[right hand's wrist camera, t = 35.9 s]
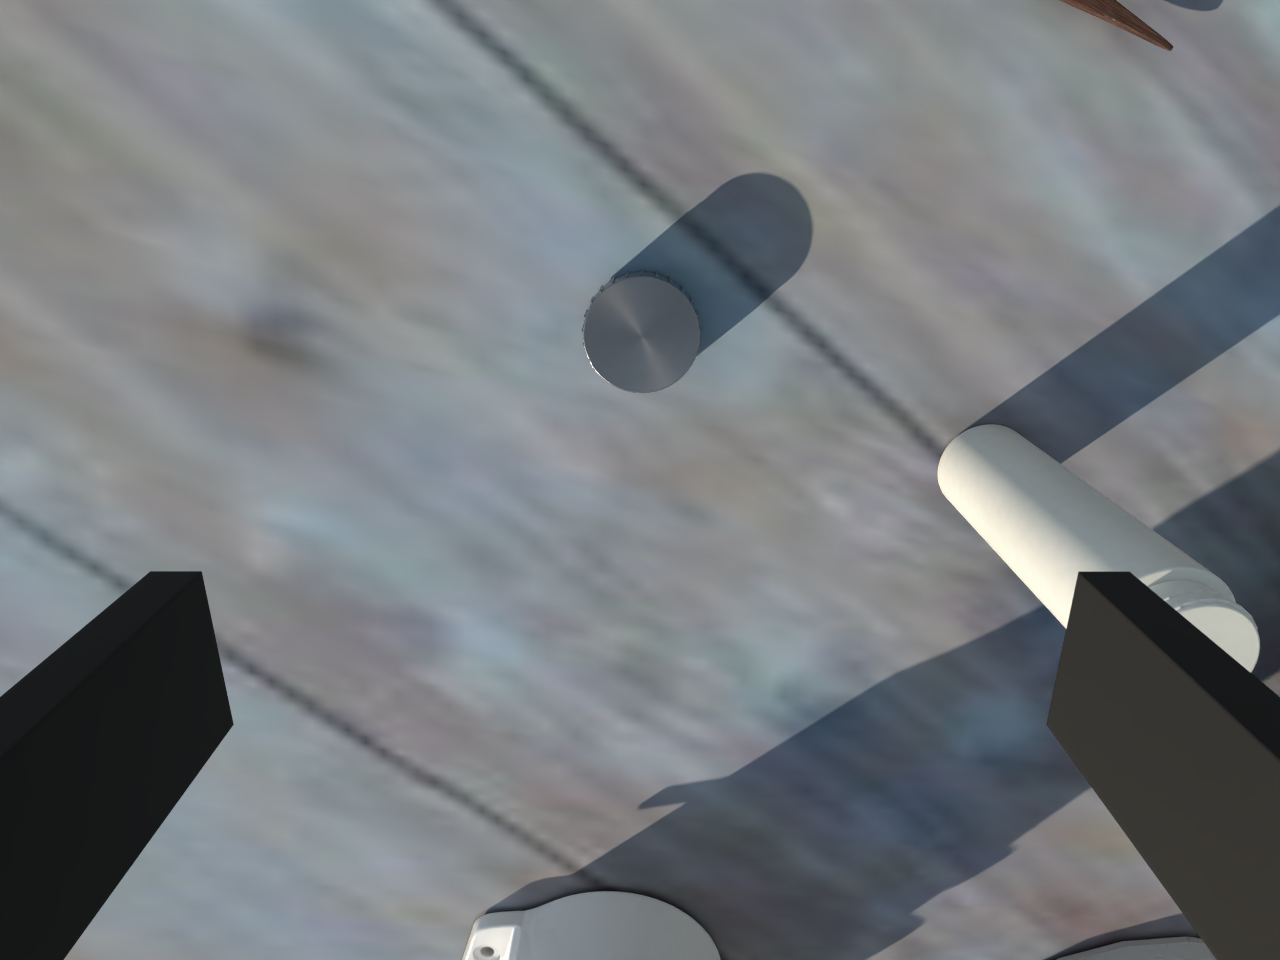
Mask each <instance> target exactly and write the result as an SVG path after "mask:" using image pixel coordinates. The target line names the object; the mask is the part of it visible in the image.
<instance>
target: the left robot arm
mask: <svg viewBox="0 0 1280 960" xmlns="http://www.w3.org/2000/svg"><path fill="white" fill-rule="evenodd" d="M1278 696H1279V697H1280V694H1279V695H1278ZM462 960H721V959H720V955H719V952H718V950H717V948H716V946H715V944H714V942H713V940H712V939H711V937H710V936H709V934H708V933H707V932H706V931H705V930H704V928H703V927H702V926H701V925H700V924H699V923H697V922H696V921H695V920H694V919H693V918H691V917H690V916H689V915H687V914H686V913H684V912H683V911H681V910H679V909H678V908H676V907H674V906H672V905H670V904H667V903H665V902H663V901H660V900H657V899H654V898H651V897H648V896H644V895H639V894H634V893H628V892H617V891H597V892H587V893H580V894H575V895H570V896H567V897H563V898H560V899H557V900H554V901H552V902H549V903H547V904H544V905H542V906H539V907H536V908H533V909H530V910H526V911H506V912H495V913H489V914H485V915H483V916H481V917H479V918H478V919H477V920H476V922H475V924H474V926H473V929H472V932H471V935H470V938H469V941H468V944H467V947H466V950H465V953H464V956H463V959H462Z"/></svg>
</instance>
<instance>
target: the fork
mask: <svg viewBox="0 0 1280 960" xmlns="http://www.w3.org/2000/svg"><path fill="white" fill-rule="evenodd" d="M1060 1H1063V2H1065V3H1067V4H1069V5H1071V6H1073V7H1076V8H1078V9H1080V10H1083V11H1085V12H1087V13H1089V14H1092V15H1094V16H1096V17H1098V18H1101V19H1103V20H1105V21H1107V22H1109V23H1112V24H1114V25H1116V26H1118V27H1120V28H1122V29H1124V30H1126V31H1128V32H1130V33H1132V34H1134V35H1136V36H1138V37H1140V38H1142V39H1144V40H1146V41H1148V42H1150V43H1152V44H1155V45H1157V46H1159V47H1161V48H1163V49H1166V50H1169V51H1171V50H1172V48H1173V46H1172V45H1171V44H1170V43H1169V42H1168V41H1167V40H1166V39H1164V38H1163V37H1162V36H1161V35H1160V34H1158V33H1157V32H1156V31H1154V30H1153V29H1152V28H1151V27H1149V26H1148V25H1147V24H1145V23H1144V22H1143V21H1142V20H1140V19H1139V18H1138V17H1136V16H1135V15H1134V14H1132V13H1131V12H1130V11H1129V10H1127V9H1126V8H1125V7H1124V6H1122V5H1121V4H1120V3H1118V2H1117V1H1116V0H1060Z"/></svg>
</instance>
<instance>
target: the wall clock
mask: <svg viewBox="0 0 1280 960" xmlns="http://www.w3.org/2000/svg"><path fill="white" fill-rule="evenodd" d="M1057 960H1216V958H1215V957H1214V955H1213V954H1212V953H1211V951H1210V950H1209V949H1208V947H1207V946H1206V944H1205V943H1204V942H1203V940H1202V939H1201V938H1195V937H1187V936H1185V937H1172V938H1159V939H1146V940H1134V941H1122V942H1118V943H1114V944H1111V945H1107V946H1103V947H1099V948H1095V949H1092V950H1088V951H1084V952H1080V953H1077V954H1073V955H1069V956H1065V957H1061V958H1059V959H1057Z"/></svg>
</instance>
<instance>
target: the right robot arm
mask: <svg viewBox="0 0 1280 960" xmlns="http://www.w3.org/2000/svg"><path fill="white" fill-rule="evenodd" d="M232 726H233V720H232V715H231V710H230V706H229V701H228V696H227V691H226V686H225V682H224V677H223V672H222V667H221V662H220V658H219V653H218V648H217V643H216V638H215V633H214V629H213V624H212V619H211V614H210V609H209V605H208V600H207V595H206V590H205V585H204V581H203V576H202V572H149V573H148V574H147V575H146V576H144V577H143V578H142V579H141V580H140V581H139V582H137V583H136V584H135V585H134V586H133V587H131V588H130V589H129V590H128V591H127V592H125V593H124V594H123V595H122V596H121V597H119V598H118V599H117V600H116V601H115V602H113V603H112V604H111V605H110V606H109V607H107V608H106V609H105V610H104V611H103V612H101V613H100V614H99V615H98V616H97V617H95V618H94V619H93V620H92V621H91V622H89V623H88V624H87V625H86V626H85V627H84V628H82V629H81V630H80V631H79V632H78V633H76V634H75V635H74V636H73V637H72V638H70V639H69V640H68V641H67V642H66V643H64V644H63V645H62V646H61V647H60V648H58V649H57V650H56V651H55V652H54V653H52V654H51V655H50V656H49V657H48V658H46V659H45V660H44V661H43V662H42V663H40V664H39V665H38V666H37V667H36V668H34V669H33V670H32V671H31V672H30V673H29V674H27V675H26V676H25V677H24V678H23V679H21V680H20V681H19V682H18V683H17V684H15V685H14V686H13V687H12V688H11V689H9V690H8V691H7V692H6V693H5V694H3V695H2V696H1V697H0V960H64V958H65V957H66V955H67V954H68V953H69V951H70V950H71V949H72V947H73V946H74V944H75V943H76V942H77V940H78V939H79V937H80V936H81V935H82V933H83V932H84V931H85V929H86V928H87V926H88V925H89V924H90V922H91V921H92V920H93V918H94V917H95V915H96V914H97V913H98V911H99V910H100V908H101V907H102V906H103V904H104V903H105V902H106V900H107V899H108V897H109V896H110V895H111V893H112V892H113V890H114V889H115V888H116V886H117V885H118V884H119V882H120V881H121V879H122V878H123V877H124V875H125V874H126V872H127V871H128V870H129V868H130V867H131V866H132V864H133V863H134V861H135V860H136V859H137V857H138V856H139V854H140V853H141V852H142V850H143V849H144V848H145V846H146V845H147V843H148V842H149V841H150V839H151V838H152V836H153V835H154V834H155V832H156V831H157V830H158V828H159V827H160V825H161V824H162V823H163V821H164V820H165V819H166V817H167V816H168V814H169V813H170V812H171V810H172V809H173V807H174V806H175V805H176V803H177V802H178V801H179V799H180V798H181V796H182V795H183V794H184V792H185V791H186V789H187V788H188V787H189V785H190V784H191V783H192V781H193V780H194V778H195V777H196V776H197V774H198V773H199V771H200V770H201V769H202V767H203V766H204V765H205V763H206V762H207V760H208V759H209V758H210V756H211V755H212V753H213V752H214V751H215V749H216V748H217V747H218V745H219V744H220V742H221V741H222V740H223V738H224V737H225V736H226V734H227V733H228V731H229V730H230V729H231V727H232ZM1047 726H1048V727H1049V729H1050V730H1051V731H1052V733H1053V734H1054V736H1055V737H1056V738H1057V740H1058V741H1059V742H1060V744H1061V745H1062V747H1063V748H1064V749H1065V751H1066V752H1067V753H1068V755H1069V756H1070V758H1071V759H1072V760H1073V762H1074V763H1075V765H1076V766H1077V767H1078V769H1079V770H1080V771H1081V773H1082V774H1083V776H1084V777H1085V778H1086V780H1087V781H1088V783H1089V784H1090V785H1091V787H1092V788H1093V789H1094V791H1095V792H1096V794H1097V795H1098V796H1099V798H1100V799H1101V801H1102V802H1103V803H1104V805H1105V806H1106V807H1107V809H1108V810H1109V812H1110V813H1111V814H1112V816H1113V817H1114V819H1115V820H1116V821H1117V823H1118V824H1119V825H1120V827H1121V828H1122V830H1123V831H1124V832H1125V834H1126V835H1127V837H1128V838H1129V839H1130V841H1131V842H1132V843H1133V845H1134V846H1135V848H1136V849H1137V850H1138V852H1139V853H1140V854H1141V856H1142V857H1143V859H1144V860H1145V861H1146V863H1147V864H1148V866H1149V867H1150V868H1151V870H1152V871H1153V872H1154V874H1155V875H1156V877H1157V878H1158V879H1159V881H1160V882H1161V884H1162V885H1163V886H1164V888H1165V889H1166V890H1167V892H1168V893H1169V895H1170V896H1171V897H1172V899H1173V900H1174V902H1175V903H1176V904H1177V906H1178V907H1179V908H1180V910H1181V911H1182V913H1183V914H1184V915H1185V917H1186V918H1187V920H1188V921H1189V922H1190V924H1191V925H1192V926H1193V928H1194V929H1195V931H1196V932H1197V933H1198V935H1199V936H1200V937H1201V939H1202V940H1203V942H1204V943H1205V944H1206V946H1207V947H1208V949H1209V950H1210V951H1211V953H1212V954H1213V955H1214V957H1215V958H1216V960H1280V697H1279V696H1278V695H1277V694H1275V693H1274V692H1273V691H1272V690H1271V689H1269V688H1268V687H1267V686H1266V685H1265V684H1263V683H1262V682H1261V681H1260V680H1259V679H1257V678H1256V677H1255V676H1254V675H1253V674H1251V673H1250V672H1249V671H1248V670H1247V669H1246V668H1244V667H1243V666H1242V665H1241V664H1240V663H1238V662H1237V661H1236V660H1235V659H1234V658H1232V657H1231V656H1230V655H1229V654H1228V653H1226V652H1225V651H1224V650H1223V649H1222V648H1220V647H1219V646H1218V645H1217V644H1216V643H1214V642H1213V641H1212V640H1211V639H1210V638H1208V637H1207V636H1206V635H1205V634H1204V633H1202V632H1201V631H1200V630H1199V629H1198V628H1196V627H1195V626H1194V625H1193V624H1192V623H1191V622H1189V621H1188V620H1187V619H1186V618H1185V617H1183V616H1182V615H1181V614H1180V613H1179V612H1177V611H1176V610H1175V609H1174V608H1173V607H1171V606H1170V605H1169V604H1168V603H1167V602H1165V601H1164V600H1163V599H1162V598H1161V597H1159V596H1158V595H1157V594H1156V593H1155V592H1153V591H1152V590H1151V589H1150V588H1149V587H1147V586H1146V585H1145V584H1144V583H1143V582H1141V581H1140V580H1139V579H1138V578H1137V577H1136V576H1134V575H1133V574H1132V573H1131V572H1078V576H1077V581H1076V585H1075V590H1074V595H1073V600H1072V605H1071V609H1070V614H1069V619H1068V624H1067V629H1066V633H1065V638H1064V643H1063V648H1062V653H1061V657H1060V662H1059V667H1058V672H1057V677H1056V682H1055V686H1054V691H1053V696H1052V701H1051V706H1050V710H1049V715H1048V720H1047Z"/></svg>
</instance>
